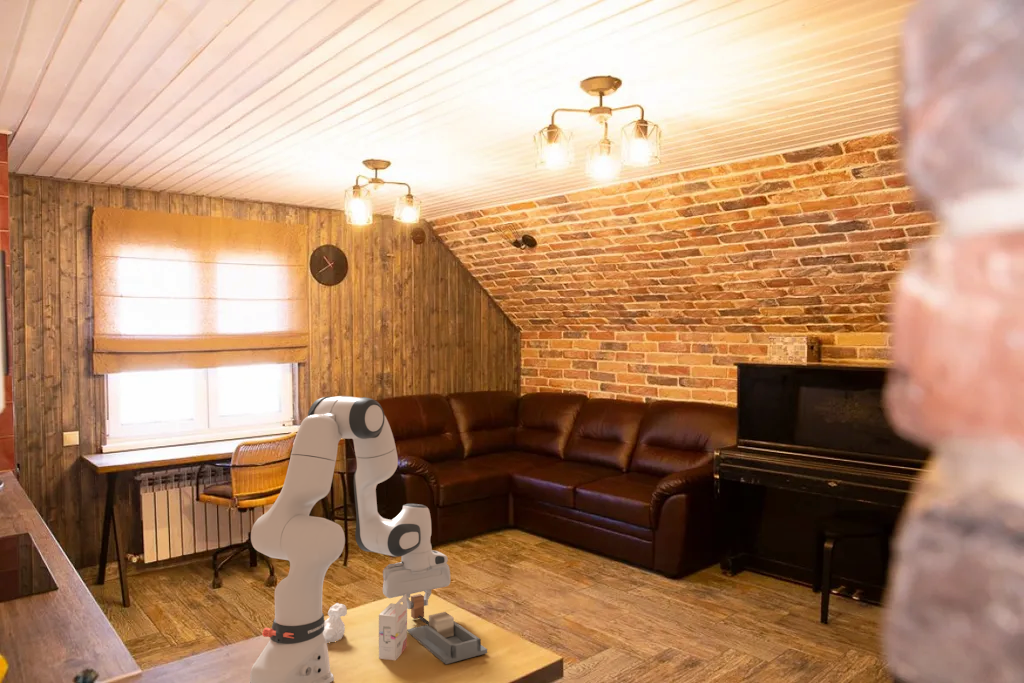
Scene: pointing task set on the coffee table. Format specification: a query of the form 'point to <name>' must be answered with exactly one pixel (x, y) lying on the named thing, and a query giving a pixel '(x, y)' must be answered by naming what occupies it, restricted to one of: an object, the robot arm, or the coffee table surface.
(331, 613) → the bust
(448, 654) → the grey slotted base
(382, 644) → the ink cartridge box
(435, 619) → the block
